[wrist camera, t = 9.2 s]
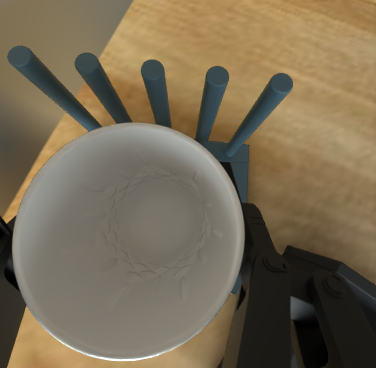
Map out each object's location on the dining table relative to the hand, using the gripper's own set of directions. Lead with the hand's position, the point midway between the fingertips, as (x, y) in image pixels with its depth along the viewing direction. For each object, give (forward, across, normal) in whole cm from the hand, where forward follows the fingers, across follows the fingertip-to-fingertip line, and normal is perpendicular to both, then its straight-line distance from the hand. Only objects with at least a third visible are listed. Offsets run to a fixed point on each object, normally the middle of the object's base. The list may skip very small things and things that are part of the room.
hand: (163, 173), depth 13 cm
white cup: (0, 0, -5) cm, 5 cm away
